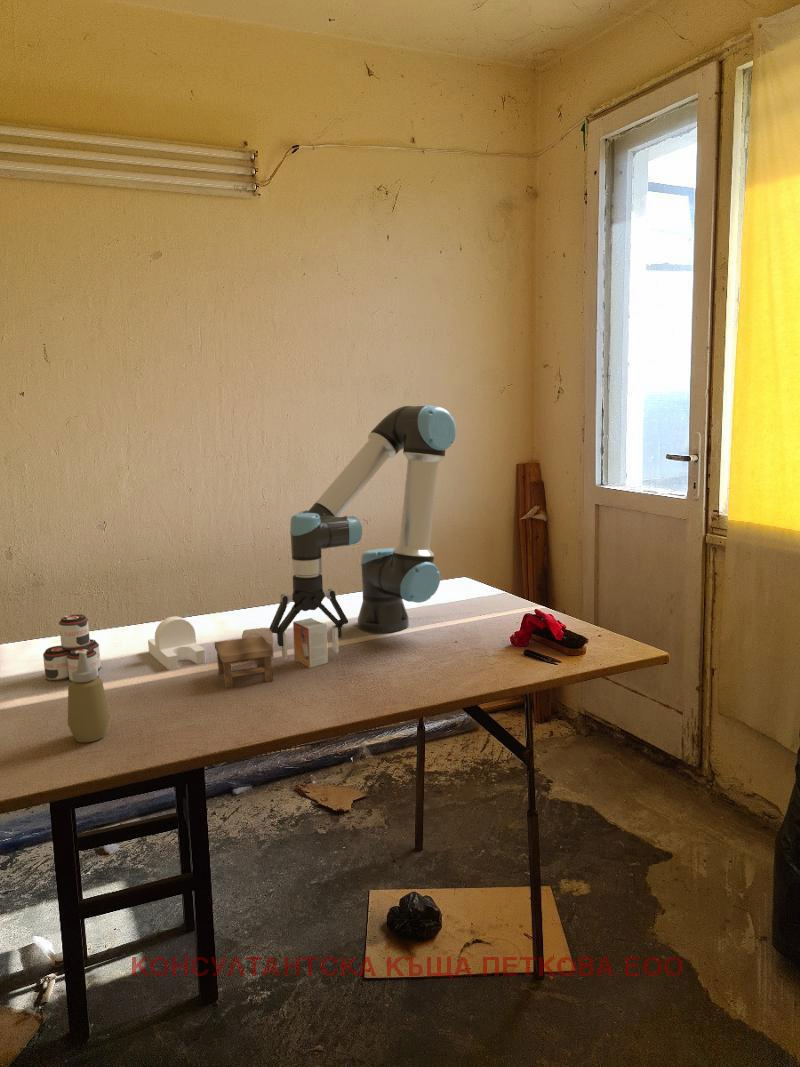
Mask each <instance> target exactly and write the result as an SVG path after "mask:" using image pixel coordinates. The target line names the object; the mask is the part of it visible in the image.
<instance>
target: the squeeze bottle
mask: <svg viewBox="0 0 800 1067" xmlns="http://www.w3.org/2000/svg"><path fill="white" fill-rule="evenodd" d="M72 679H73V681H72V682H71V683H70V682H69V684H68V686H67V688H68V689H67V726H68V727H69V731H71V733H72V736H73V739H74V740H75V741H76V742H79V743H93V742H95V741H98V740H101V739H103V738H104V737H105V736H106V733H107V730H108V726H109V720H110V713H109V712H110V711H109V707H108V701H107V697H106V693H105V688H104V682H103V680H102V679H101V678H97V671H96V669H95V668H92V667H90V665H89V662H88V659H87V656H86V653H80V654H79V661H78V669H77V670H75V671H73V672H72Z"/></svg>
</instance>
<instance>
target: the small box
mask: <svg viewBox="0 0 800 1067" xmlns="http://www.w3.org/2000/svg"><path fill="white" fill-rule="evenodd" d="M292 624H293V626H292V628H293V652H294V653H293V655H294V656H293V657H294V660H295V661H297V662H299V663H300V664H302V665H304V666H306V667H307V668H309V669H310V668H314V667H318V666H321V665H325V664H328V663H329V659H328V658H329V657H328V656H329V653H328V628H327V627H328V626H327V625H328V624H326V623H323V622H322V621H321V622H320V621H318V620H316V619H314V618H312V617H311V618H305V619H300V620H295V621H292Z"/></svg>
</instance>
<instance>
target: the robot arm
mask: <svg viewBox="0 0 800 1067" xmlns="http://www.w3.org/2000/svg"><path fill="white" fill-rule="evenodd" d="M456 427H457V426H456V422H455V419H454V417H453V416H452V415H451V413H450V412H449V411H448V410H447V409H445V408H443V407H441V406H434V405H420V406H419V405H415V406H414V405H403V406H401V407H398V408H396V409H394V410H393V411H391V412H390V413H388V414H387V415H386V416H384V418H383V419H381V420H380V421H379V423H378V424H377V425H376V426H375V427H373V429H372V430H371V432H369V434H368V435H367V437H368V438H367V439H368V440H367V442H366V443H364V444H363V447H361V449H360V450H359V451H358V452H357V454H355V456H354V457H353V458H352V459H351V461H350V462H348V463H347V465H346V466H345V467H344V469H343V470H342V471H341V472H340V473H339V475H338V476H337V477H336V478H335V479H334V480H333V481H332V483H331V484H330V485H329V486H328V487H327V488H326V490H324V492H323V493H322V494H321V495H320V497H319V498H318V499H317V501H316V502H314V504H313V505H312V506H311V507H310V508H309V510H308V509H306V510H302V511H300V512H298V513H294V514H293V515H292V516H291V518H290V527H289V528H290V531H289V534H290V545H291V546H290V548H291V551H290V552H291V565H292V566H291V568H292V569H291V573H292V574H293V576H292V594H291V595H286V594H283V593H282V594H281V595H280V602H279V605H278V608H277V610H276V612H275V614H274V617H273V619H272V622H271V623H270V626H269V627H268V628H269V629H270V631H271V632H272V633H273V634H276V636H277V637H276V639H277V645H278V647H281V657H282V658H283V660H288V645H287V644H288V643H287V642H288V639H287V633H285V632H286V631H287V629H288V628H289V626H290V625H291V623H293V622H294V619H295V618H296V617H297V615H298V614H300V612H301V611H303V612H307V611H316V610H317V609H318V608H319V609H320V610H321V612H322V613H324V615H325V616H327V618H329V620H331V622H332V623H333V625H331V632H332V633H331V634H332V635H331V636H332V650H333V651H334V652H335V653H339V652H340V651H339V639H342V635H343V634H342V628H343V626H344V625H347V624H348V623H349V620H348V618H347V616H346V615H345V613H344V611H343V609H342V607H341V605H340V604H339V602H338V600H337V596H336V591H335V590H334V589H332V588H329V589H328V590H326V591H324V588H323V587H324V586H323V575H322V573H323V565H322V564H323V562H322V550H326V549H332V548H338V547H339V548H340V547H345V546H347V547H348V546H351V545H355V544H359V542H360V541H361V540H362V536H363V527H362V523H361V521H360V519H359V518H357V517H356V516H354V515H344V516H342V514H343V513H344V512H345V511H346V510H347V508H348V507H349V506H350V504H352V502H353V501H354V500H355V499H356V497H357V496H358V495H359V494H360V493H361V492H362V490H363V489H364V488H365V487H366V486H367V484H368V483H369V482H370V481H371V480H372V478H373V477H374V476H375V474H377V472H378V471H379V470H380V469H381V468H382V467H383V465H384V464H385V463H386V462H387V461H388V459H389V458H390V459H392V458H395V456H396V455H397V454H398V453H399V452H400V451H402V450H403V451H402V453H403V455H404V456H405V458H406V459H407V465H406V466H407V467H406V475H405V485H404V486H405V487H404V493H403V494H404V495H403V505H402V512H401V522H400V523H401V524H400V534H399V543H398V546H396V547H384V548H377V549H369V550H366V551H364V552H363V553H362V555H361V563H360V566H361V582H362V584H361V585H362V586H361V587H362V588H361V589H362V602H361V605H360V609H359V613H358V616H357V627H358V629H359V630H362V631H365V632H369V633H378V634H379V633H380V634H381V633H393V632H398V631H401V630H402V631H403V630H405V629H406V628H408V627H409V625H410V622H409V620H410V619H409V616H408V612H407V609H406V606H405V603H404V601H406V602H409V603H410V602H412V603H417V604H418V603H419V604H420V603H425V602H427V601H428V600H430V599H431V598H432V596H434V595H435V594H436V592H437V591H438V590H439V586H440V583H441V574H440V571H439V568H438V567H437V566H436V564H434V560H435V554H434V552H433V551H432V550H431V548H430V547H431V538H432V537H431V536H432V530H433V529H432V528H433V518H434V510H435V500H436V489H437V484H438V483H437V482H438V474H439V473H438V472H439V464H440V462H441V461H442V460H443V459H445V458H446V450H447V449H449V448H450V447H451V446H452V444H454V441H455V440H456V435H457V428H456ZM325 597H326V599H328V600H329V601H330V603H331V605H332V607H333V609H334V610H335V612H336V614H337V615H338V617H339V619H338V618H337V617H336V616H335V615H333V613H332V612H331V611H330V610H329V609H328V608H327V607H326V606H325V605H324V604H323V603H322V601H324V599H325ZM403 600H404V601H403ZM291 601H293V606H292V607H291V609H290V610H289V612H288V613H287V614H286V616H285V617H284V614H285V613H286V610H287V607H288V605H289V604H290V603H291ZM283 617H284V619H283ZM282 619H283V620H282Z"/></svg>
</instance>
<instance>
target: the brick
mask: <svg viewBox="0 0 800 1067" xmlns="http://www.w3.org/2000/svg"><path fill="white" fill-rule="evenodd" d="M269 628H270V627H260V628H256V627H255V628H250V629H244V630H243V631H242V634H241V639H243V638H251V637H258V636H263V638H264V639H265V640H266V642H267V643H268V644H269V646H270V647H271V648H272V650H273V651H274V635H273V634H274V633H272V632H271V631H270V629H269ZM273 657H274V655H273V656H271V659H273Z"/></svg>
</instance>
